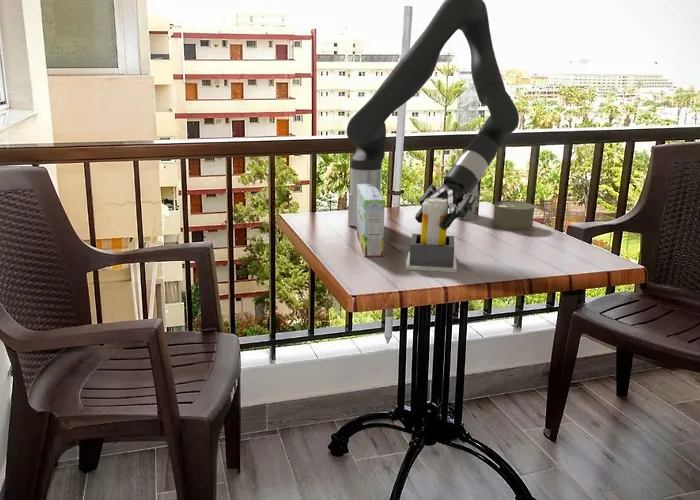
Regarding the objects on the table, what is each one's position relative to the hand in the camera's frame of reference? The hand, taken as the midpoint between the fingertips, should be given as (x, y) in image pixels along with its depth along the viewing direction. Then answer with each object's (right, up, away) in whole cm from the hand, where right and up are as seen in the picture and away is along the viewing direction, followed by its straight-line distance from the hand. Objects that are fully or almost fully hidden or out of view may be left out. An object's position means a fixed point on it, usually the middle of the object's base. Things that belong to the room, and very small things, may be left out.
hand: (429, 224), depth 159 cm
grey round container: (+30, +1, +42) cm, 52 cm away
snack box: (-14, -5, +18) cm, 24 cm away
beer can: (+1, -9, +4) cm, 9 cm away
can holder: (+1, -9, +4) cm, 10 cm away
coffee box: (+18, +4, +54) cm, 57 cm away
